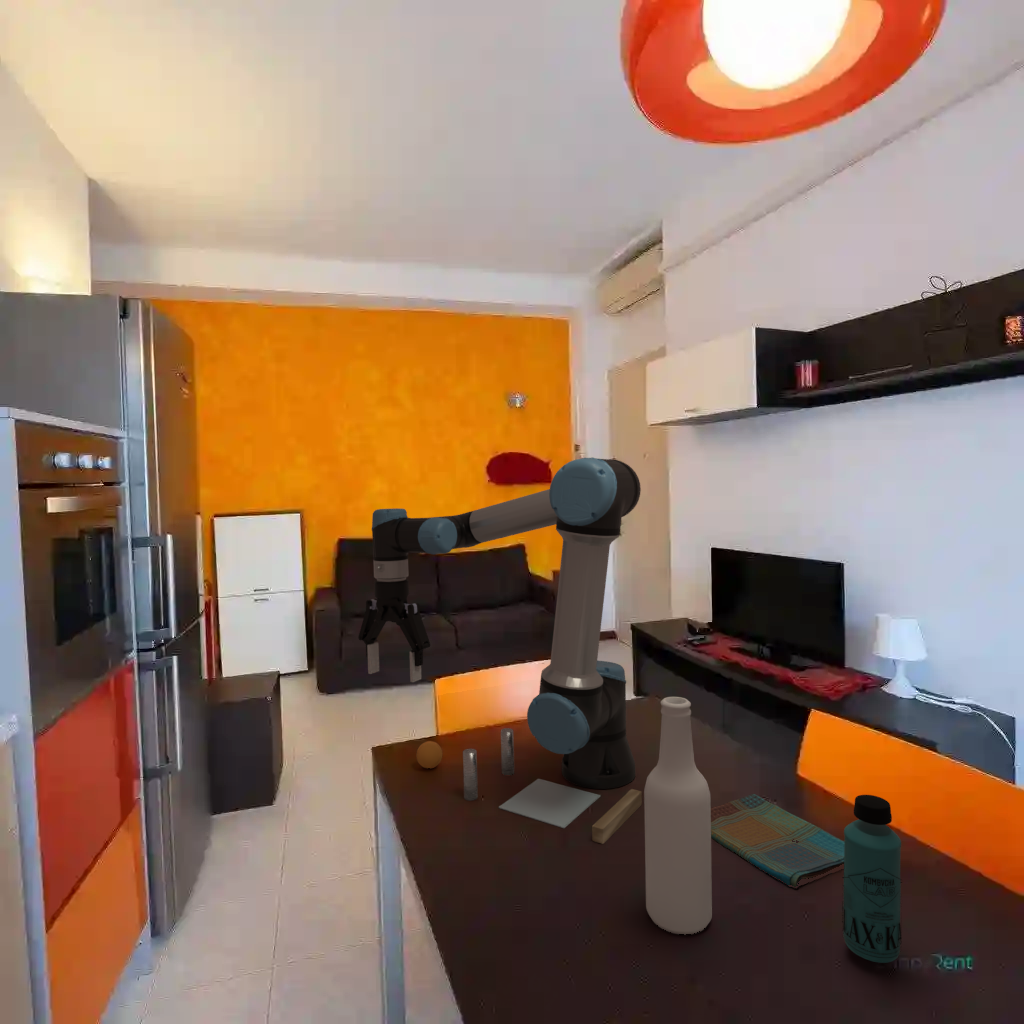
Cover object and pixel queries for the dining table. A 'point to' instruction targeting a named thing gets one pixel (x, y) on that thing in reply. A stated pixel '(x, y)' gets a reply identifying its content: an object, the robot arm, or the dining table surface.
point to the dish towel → (775, 839)
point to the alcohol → (677, 829)
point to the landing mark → (550, 802)
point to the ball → (429, 754)
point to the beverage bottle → (872, 882)
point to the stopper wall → (616, 816)
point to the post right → (507, 751)
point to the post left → (470, 774)
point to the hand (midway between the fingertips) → (394, 676)
